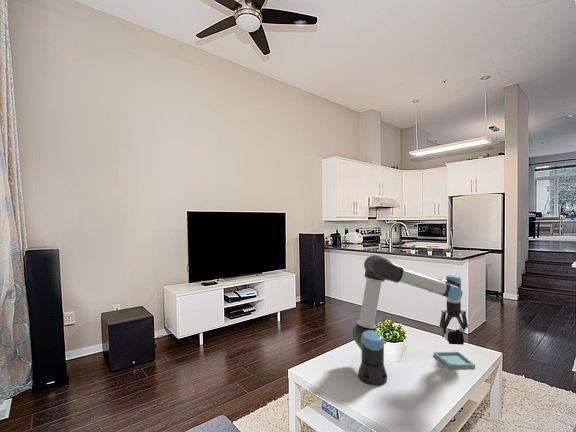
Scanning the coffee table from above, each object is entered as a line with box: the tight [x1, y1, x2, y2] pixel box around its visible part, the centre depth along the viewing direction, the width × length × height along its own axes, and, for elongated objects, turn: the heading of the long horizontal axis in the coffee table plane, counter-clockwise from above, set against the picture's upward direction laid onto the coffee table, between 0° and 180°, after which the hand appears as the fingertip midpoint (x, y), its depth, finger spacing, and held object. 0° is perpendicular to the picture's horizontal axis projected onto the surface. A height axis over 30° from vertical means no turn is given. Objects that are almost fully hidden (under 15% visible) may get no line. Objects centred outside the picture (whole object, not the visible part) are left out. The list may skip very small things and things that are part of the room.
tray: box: [433, 351, 476, 369], centre depth 180 cm, size 16×16×2 cm
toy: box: [441, 329, 465, 346], centre depth 182 cm, size 9×8×15 cm
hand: (453, 339), depth 180 cm, fingers closed on toy, 9 cm apart
